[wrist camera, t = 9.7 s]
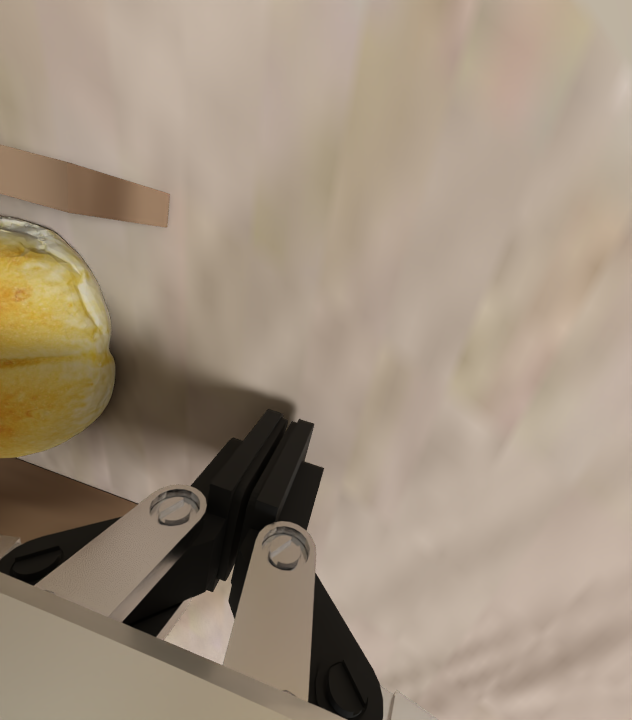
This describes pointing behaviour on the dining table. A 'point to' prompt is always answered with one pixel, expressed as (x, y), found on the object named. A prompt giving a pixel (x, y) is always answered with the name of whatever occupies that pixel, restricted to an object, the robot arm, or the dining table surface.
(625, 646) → the dining table surface
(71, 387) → the bread roll
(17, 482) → the brown u-shaped frame
